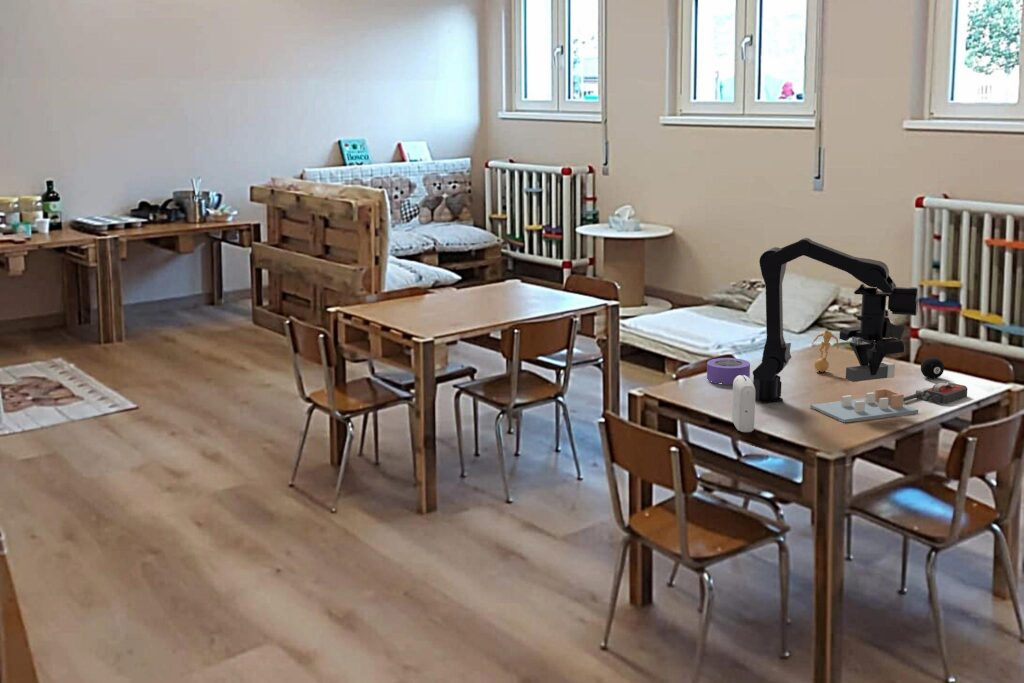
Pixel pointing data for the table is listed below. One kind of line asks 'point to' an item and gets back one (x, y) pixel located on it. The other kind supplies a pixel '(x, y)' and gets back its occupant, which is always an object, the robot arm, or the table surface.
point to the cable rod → (864, 372)
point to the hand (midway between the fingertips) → (869, 373)
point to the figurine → (822, 363)
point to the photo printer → (743, 404)
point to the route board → (861, 408)
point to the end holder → (890, 397)
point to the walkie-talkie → (941, 393)
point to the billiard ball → (932, 367)
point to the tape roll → (727, 369)
